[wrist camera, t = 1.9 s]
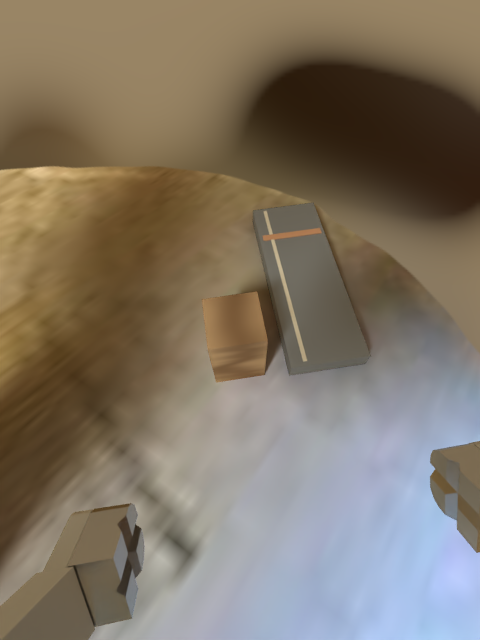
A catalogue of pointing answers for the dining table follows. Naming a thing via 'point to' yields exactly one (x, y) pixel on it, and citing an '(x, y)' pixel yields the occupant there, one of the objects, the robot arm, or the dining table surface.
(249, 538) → the dining table surface
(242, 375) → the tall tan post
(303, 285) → the board
